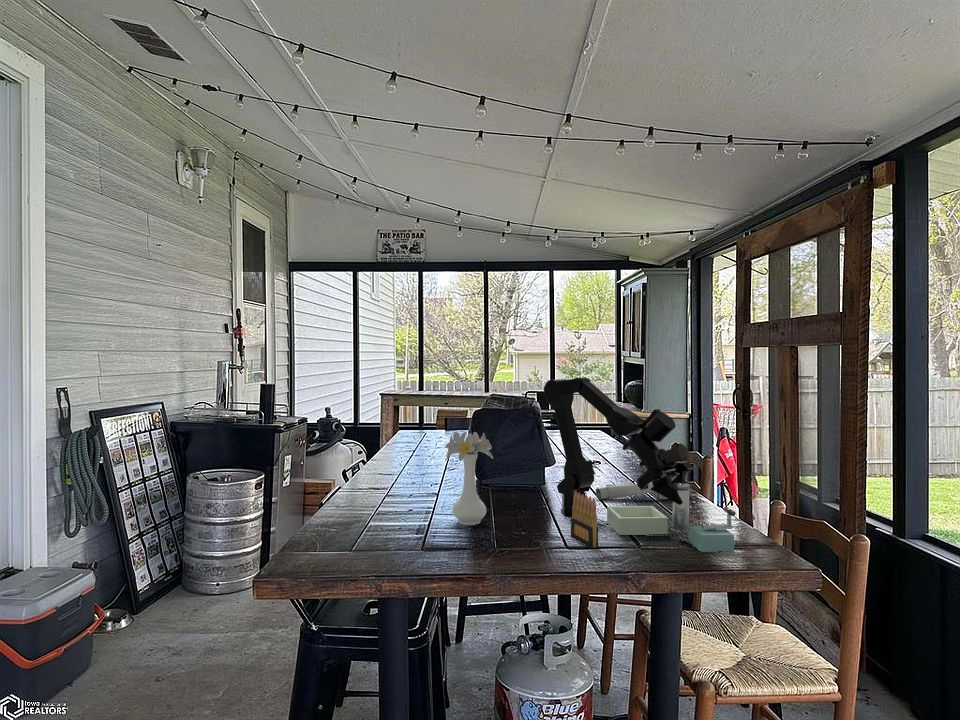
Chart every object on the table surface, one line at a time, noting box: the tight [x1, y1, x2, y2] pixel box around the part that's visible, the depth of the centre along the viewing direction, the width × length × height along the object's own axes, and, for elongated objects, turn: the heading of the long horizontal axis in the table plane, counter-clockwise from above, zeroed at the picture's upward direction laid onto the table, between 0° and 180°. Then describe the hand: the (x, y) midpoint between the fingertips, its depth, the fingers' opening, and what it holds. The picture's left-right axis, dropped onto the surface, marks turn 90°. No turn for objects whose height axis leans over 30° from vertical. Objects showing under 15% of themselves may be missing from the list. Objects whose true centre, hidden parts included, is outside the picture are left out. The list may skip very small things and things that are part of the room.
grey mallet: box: [595, 482, 668, 501], centre depth 215 cm, size 5×7×25 cm
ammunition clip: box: [570, 491, 599, 550], centre depth 168 cm, size 11×2×12 cm, turn 21°
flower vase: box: [444, 431, 494, 526], centre depth 186 cm, size 13×18×25 cm
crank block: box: [688, 525, 735, 553], centre depth 165 cm, size 8×8×4 cm
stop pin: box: [671, 482, 691, 531], centre depth 171 cm, size 4×4×11 cm
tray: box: [606, 505, 669, 536], centre depth 180 cm, size 13×13×4 cm
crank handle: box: [701, 506, 736, 531], centre depth 165 cm, size 7×5×5 cm
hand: (685, 502), depth 170 cm, fingers closed on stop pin, 4 cm apart
